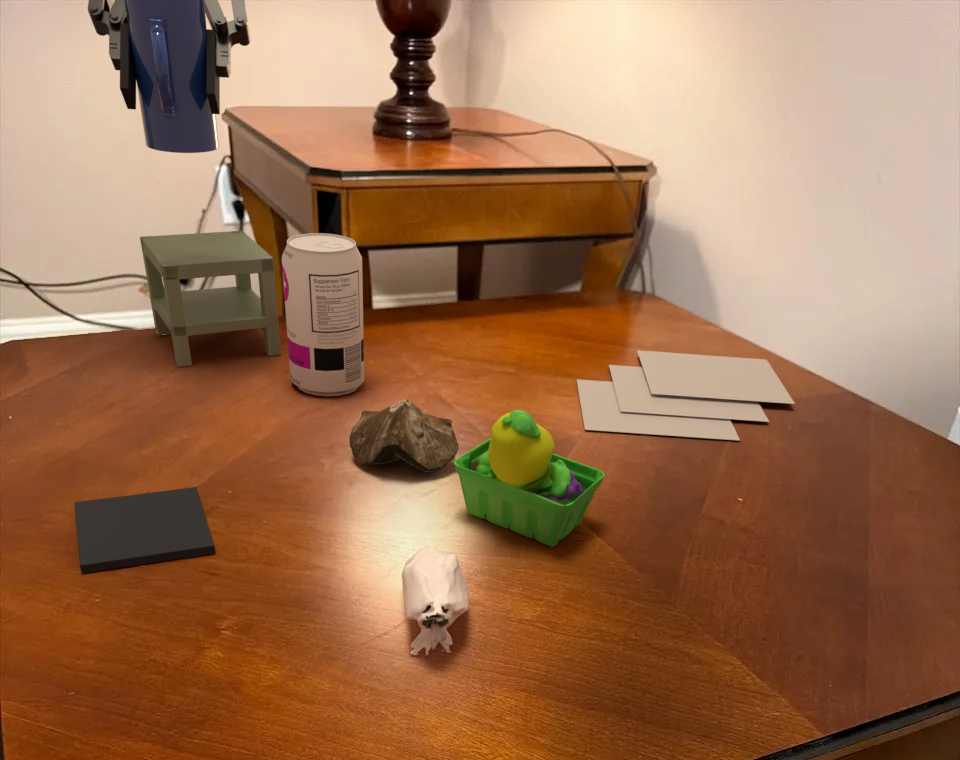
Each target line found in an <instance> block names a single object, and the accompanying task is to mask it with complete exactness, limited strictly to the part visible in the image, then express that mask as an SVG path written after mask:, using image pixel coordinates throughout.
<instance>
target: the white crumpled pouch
mask: <svg viewBox="0 0 960 760" xmlns="http://www.w3.org/2000/svg"><path fill="white" fill-rule="evenodd" d="M401 580H402V583H401V584H402V592H403V600H404V607H405V619H406V620H409V621H417V625H418V626H419V628H420V629H421V631H420V632H419V633H418V635H417V636H416V638H415V639H414V640H413V641H412V642H411V644H410V645H409V647H410V648H411V649H412V648H413V649H412V650H411V651H410V655H412V653H415V655H417V656H418V655H419V653H418V652H420V651H421V650H422V649H424V651H425V654H429V651H430V650H431V649H432V650H435V649H436V648H437V645H438V644H439V643H440V645H441V647H442V648H443V649H442V650H441V652H443V653H444V652H446V653H451V654H453V652H452V651H451V650H450V645H453V640H452V637H451V634H450V633H449V632H448V630H447V628H450V627H451V626H452V625H453V623H454V622H455V621H456V620H457V618H458V617H459V616H461V615H462V614H464V613H466V612H467V611H468V610H469V607H470V606H469V605H470V604H469V603H470V602H469V590H468V585H467V582H466V578H465V576H464V574H463V570H462V568H461V564H460V562H459V559H458V556H457V555H456V554H455V553H454V554H452V553H449V552H447V551H443V550H442V549H439V548H438V547H432V546H430V545H427V546H426V545H425V546H421V548H420V549H418V550H416V551H415V553H414V554H413V555H412V556H411V557H410V558H409V559H407V560H406V561H405V562H404V566H403V568H402V571H401Z"/></svg>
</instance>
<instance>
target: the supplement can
mask: <svg viewBox="0 0 960 760" xmlns="http://www.w3.org/2000/svg"><path fill="white" fill-rule="evenodd" d="M281 270H282V282H283V284H282V285H283V295H284V309H285V325H286V336H287V337H286V338H287V350H288V352H287V353H288V365H289V379H290V381H291V382H292V383H293V385H295V386H296V387H297V388H298V389H299V390H300V391H302V392H304V393H305V394H310V395H313V396H317V397H319V396H320V397H340V396H343V395H348V394H351V393H353V392H355V391H356V390H358V389H359V387H360V386H361V385H362V384H363V383H364V382H365V345H364V343H365V342H364V337H365V336H364V294H363V293H364V291H363V290H364V289H363V284H364V283H363V257H362V255H361V253H360V251H359V248H358V247H357V242H356V241H355V240H354V239H353V238H350V237H347V236H345V235H340V234H336V233H335V234H334V233H323V232H313V233H312V232H309V233H302V234H301V233H300V234H297V235H296V234H295V235H292V236H290V237H289V238H287V239H286V246H285V248H284V249H283V253H282V255H281Z"/></svg>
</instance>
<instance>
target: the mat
mask: <svg viewBox="0 0 960 760" xmlns="http://www.w3.org/2000/svg"><path fill="white" fill-rule="evenodd" d="M73 504H74V515H75V526H76V536H77V548H78V558H79V568H80V571H81V573H82V574H88V573H94V572H102V571H108V570H115V569H121V568H128V567H134V566H140V565H141V566H142V565H149V564H154V563H160V562H167V561H168V562H169V561H175V560H180V559H188V558H193V557H200V556H207V555H213V554H216V546H215V543H214V539H213V536H212V533H211V530H210V527H209V526H210V525H209V523H208V520H207V517H206V513H205V510H204V507H203V503H202V499H201V497H200V494H199V490H198V487H197V486H193V487H185V488H179V489H178V488H176V489H170V490H161V491H160V490H159V491H153V492H146V493H145V492H143V493H137V494H127V495H122V496H121V495H120V496H114V497H113V496H112V497H104V498H96V499H89V500H80V501H74V503H73Z"/></svg>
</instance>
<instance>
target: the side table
mask: <svg viewBox="0 0 960 760" xmlns="http://www.w3.org/2000/svg"><path fill="white" fill-rule="evenodd" d="M139 241H140V246H141V252H142V253H141V254H142V258H143V265H144V269H145V276H146V282H147V287H148V294H149V299H150V305H151V310H152V312H151V313H152V317H153V324H154V330H155V333H156V332H158V333H156V334H157V336H158V335H159V336H158V337H163V336H171V341H172V345H173V346H172V348H173V352H174V359H175V364H176V365H177V366H178V368H182V367H191V366H192V365H193V361H192V357H191V349H190V343H189V342H190V341H189V336H198V335H199V336H200V335H208V334H217V333H219V334H220V333H228V332H236V331H238V332H239V331H245V330H256V329H262V330H263V341H264V352H265V353H266V355H267V356H268V357H274V356H281V355H282V351H281V350H282V349H281V339H280V338H281V337H280V325H279V313H278V312H279V311H278V301H277V288H276V275H275V262H274V257H272V256H271V254H269V253H268V252H267V251H266V250H265V249H264V248H262V247H261V246H260V245H259V244H258V243H257V242H256V241H254V240H253V238H252V237H250V236H249V234H247V233H246V232H245V231H244V230H231V231H215V232H197V233H181V234H179V233H178V234H167V235H162V234H161V235H146V236H139ZM252 274H258V275H257V277H258V287H259V295H258V294H257V293H256V292H255V290H253V289H252V281H251V278H252V277H251V275H252ZM226 276H227V277H228V276H234V277H235V286H227V287H216V288H203V289H193V290H182V287H181V281H180V280H189V279H203V278H215V277H226ZM156 330H157V331H156ZM163 334H166V335H163ZM168 334H169V335H168Z"/></svg>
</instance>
